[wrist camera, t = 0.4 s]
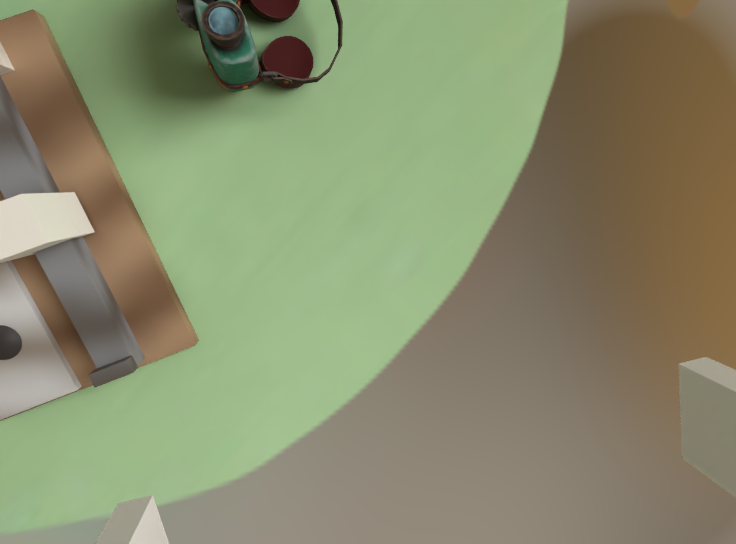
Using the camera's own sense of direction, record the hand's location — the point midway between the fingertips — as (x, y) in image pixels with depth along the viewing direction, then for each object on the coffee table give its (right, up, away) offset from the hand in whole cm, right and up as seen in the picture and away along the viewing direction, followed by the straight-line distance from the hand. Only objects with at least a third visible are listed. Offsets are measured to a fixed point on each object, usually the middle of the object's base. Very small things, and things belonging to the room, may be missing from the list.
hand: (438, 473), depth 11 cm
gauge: (-27, +8, +22) cm, 36 cm away
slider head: (-26, +7, +21) cm, 34 cm away
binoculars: (-9, +22, +22) cm, 33 cm away
